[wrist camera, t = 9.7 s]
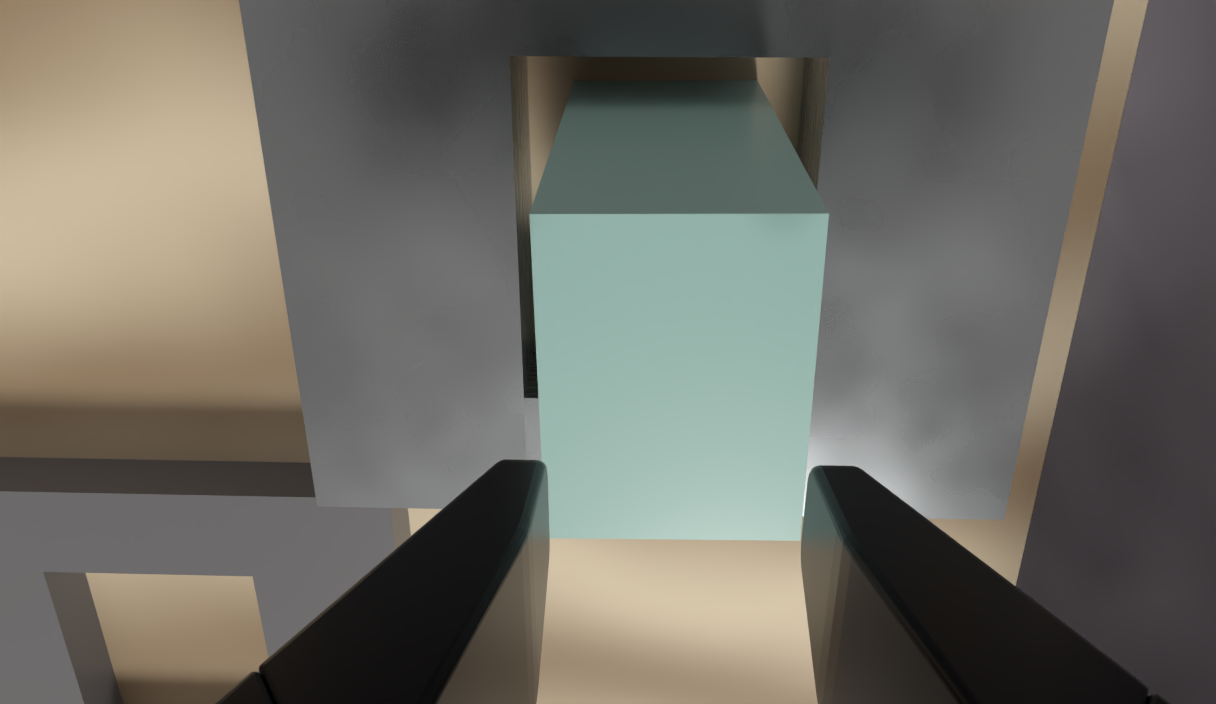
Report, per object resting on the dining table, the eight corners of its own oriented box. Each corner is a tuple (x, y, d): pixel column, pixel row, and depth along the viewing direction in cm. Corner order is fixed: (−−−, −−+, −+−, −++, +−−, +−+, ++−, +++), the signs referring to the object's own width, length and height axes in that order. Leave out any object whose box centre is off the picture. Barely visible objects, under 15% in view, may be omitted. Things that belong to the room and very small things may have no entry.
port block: (966, 453, 19) (1009, 530, 17) (350, 441, 19) (312, 516, 17) (1073, -122, 15) (1151, -120, 12) (275, -122, 15) (211, -120, 13)
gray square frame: (437, 784, 24) (427, 829, 23) (25, 773, 24) (-4, 816, 23) (403, 464, 20) (389, 498, 19) (-89, 455, 20) (-131, 488, 19)
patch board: (951, 801, 24) (960, 828, 24) (-5, 773, 25) (-24, 800, 24) (1175, -234, 15) (1202, -239, 14) (-386, -228, 15) (-436, -233, 15)
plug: (745, 305, 18) (800, 541, 12) (580, 304, 18) (545, 538, 12) (757, 80, 16) (828, 213, 10) (573, 80, 16) (529, 214, 10)
